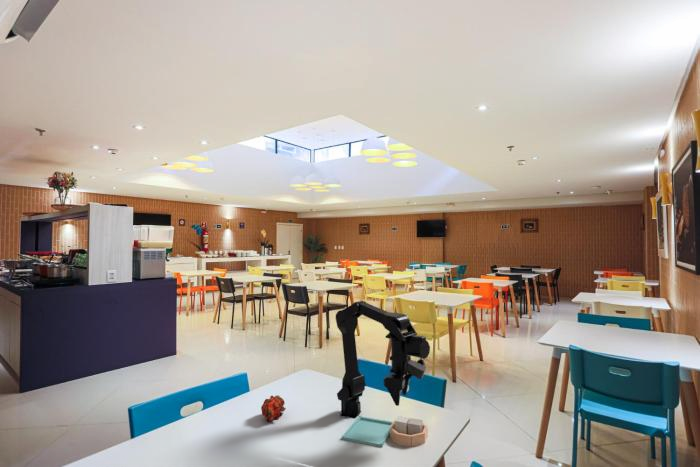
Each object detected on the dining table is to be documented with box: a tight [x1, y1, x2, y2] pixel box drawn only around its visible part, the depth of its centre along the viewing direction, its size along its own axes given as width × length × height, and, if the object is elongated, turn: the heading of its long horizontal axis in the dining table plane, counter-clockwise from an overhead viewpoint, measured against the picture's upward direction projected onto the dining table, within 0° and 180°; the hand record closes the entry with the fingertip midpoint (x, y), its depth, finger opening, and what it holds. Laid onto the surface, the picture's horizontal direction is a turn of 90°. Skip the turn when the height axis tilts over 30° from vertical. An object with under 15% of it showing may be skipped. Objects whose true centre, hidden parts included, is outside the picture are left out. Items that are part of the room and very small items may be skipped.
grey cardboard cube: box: [394, 415, 411, 435], centre depth 123 cm, size 4×4×5 cm
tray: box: [341, 415, 393, 448], centre depth 126 cm, size 14×16×1 cm
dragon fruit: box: [260, 395, 287, 423], centre depth 139 cm, size 8×8×12 cm
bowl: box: [389, 420, 429, 448], centre depth 122 cm, size 12×12×4 cm
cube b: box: [408, 417, 424, 435], centre depth 122 cm, size 4×4×5 cm
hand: (401, 399), depth 124 cm, fingers open, 9 cm apart
